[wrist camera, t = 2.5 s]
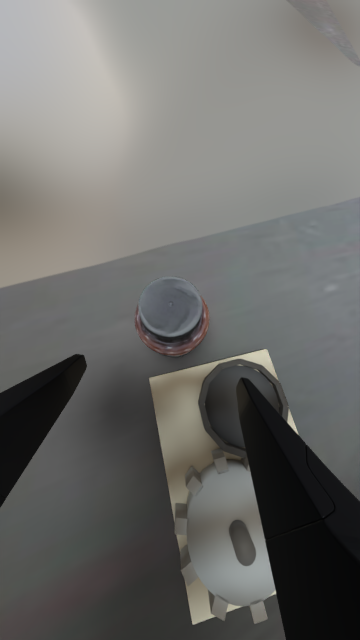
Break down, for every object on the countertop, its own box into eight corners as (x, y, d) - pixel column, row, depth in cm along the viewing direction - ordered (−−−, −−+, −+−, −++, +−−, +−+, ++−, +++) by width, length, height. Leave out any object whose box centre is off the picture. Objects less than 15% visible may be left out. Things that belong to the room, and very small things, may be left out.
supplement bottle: (157, 308, 21) (136, 252, 10) (200, 316, 21) (225, 268, 10) (146, 352, 20) (108, 341, 9) (193, 362, 20) (212, 362, 9)
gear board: (336, 554, 15) (391, 619, 11) (191, 606, 14) (196, 699, 10) (262, 349, 20) (282, 346, 16) (150, 377, 19) (143, 381, 15)
